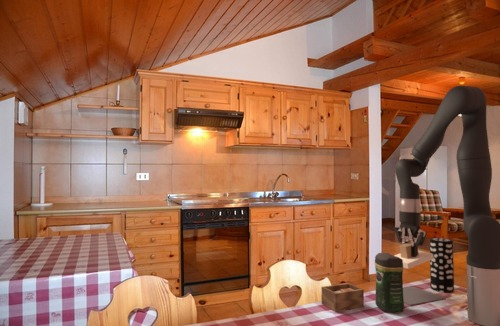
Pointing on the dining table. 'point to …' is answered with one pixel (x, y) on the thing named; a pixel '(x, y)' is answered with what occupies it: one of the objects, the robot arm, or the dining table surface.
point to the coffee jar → (389, 283)
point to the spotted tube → (442, 265)
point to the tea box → (342, 297)
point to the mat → (418, 296)
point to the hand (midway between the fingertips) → (410, 255)
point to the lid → (412, 261)
